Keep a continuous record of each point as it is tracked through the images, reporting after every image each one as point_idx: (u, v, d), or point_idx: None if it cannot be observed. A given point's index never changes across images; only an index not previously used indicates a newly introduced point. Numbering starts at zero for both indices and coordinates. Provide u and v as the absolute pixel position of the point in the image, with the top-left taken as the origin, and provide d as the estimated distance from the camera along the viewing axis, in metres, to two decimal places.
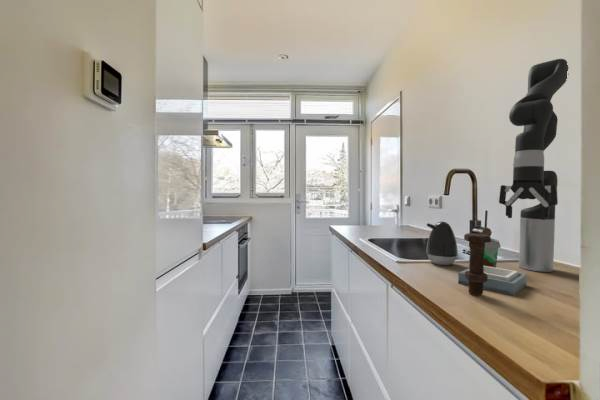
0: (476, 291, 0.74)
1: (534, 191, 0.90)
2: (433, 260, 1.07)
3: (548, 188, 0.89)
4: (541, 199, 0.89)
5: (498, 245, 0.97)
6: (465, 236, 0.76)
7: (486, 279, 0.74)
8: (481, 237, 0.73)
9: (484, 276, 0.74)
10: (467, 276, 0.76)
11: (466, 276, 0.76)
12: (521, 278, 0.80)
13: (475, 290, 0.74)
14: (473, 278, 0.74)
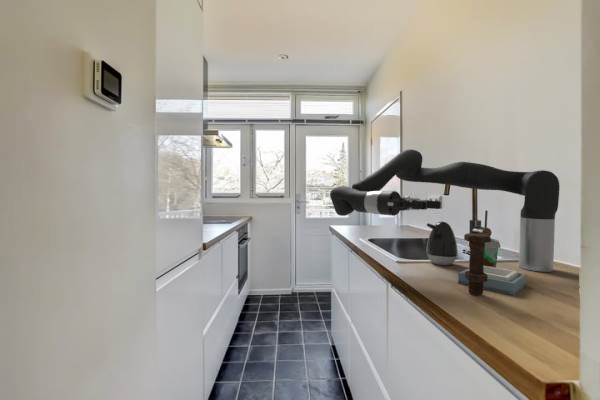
0: (476, 291, 0.74)
1: (408, 197, 0.91)
2: (433, 260, 1.07)
3: None
4: None
5: (498, 245, 0.97)
6: (465, 236, 0.76)
7: (486, 279, 0.74)
8: (481, 237, 0.73)
9: (484, 276, 0.74)
10: (467, 276, 0.76)
11: (466, 276, 0.76)
12: (521, 278, 0.80)
13: (475, 290, 0.74)
14: (473, 278, 0.74)
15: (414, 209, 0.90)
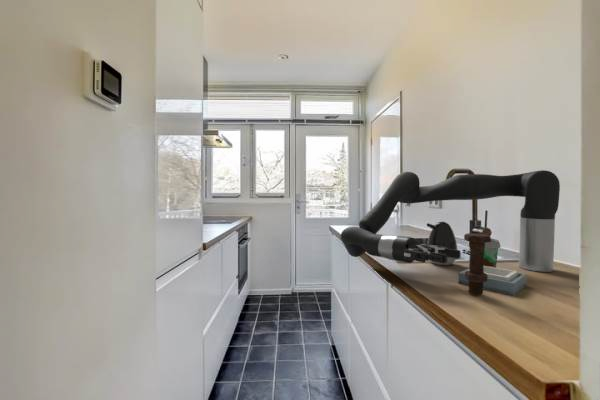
0: (476, 291, 0.74)
1: (425, 244, 0.87)
2: None
3: None
4: (436, 246, 0.86)
5: (498, 245, 0.97)
6: (465, 236, 0.76)
7: (486, 279, 0.74)
8: (481, 237, 0.73)
9: (484, 276, 0.74)
10: (467, 276, 0.76)
11: (466, 276, 0.76)
12: (521, 278, 0.80)
13: (475, 290, 0.74)
14: (473, 278, 0.74)
15: None
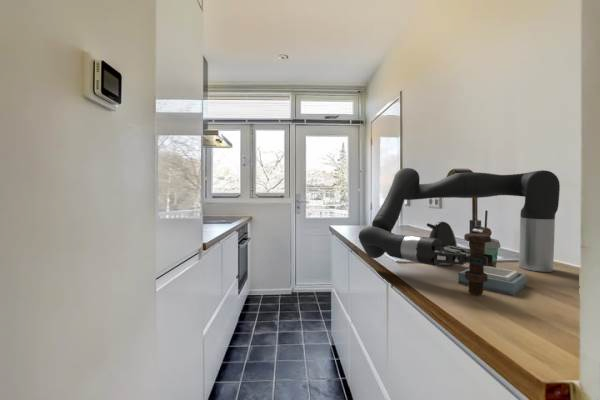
0: (476, 291, 0.74)
1: (453, 246, 0.81)
2: None
3: None
4: (465, 249, 0.79)
5: (498, 245, 0.97)
6: (465, 236, 0.76)
7: (486, 279, 0.74)
8: (481, 237, 0.73)
9: (484, 276, 0.74)
10: (467, 276, 0.76)
11: (466, 276, 0.76)
12: (521, 278, 0.80)
13: (475, 290, 0.74)
14: (473, 278, 0.74)
15: None
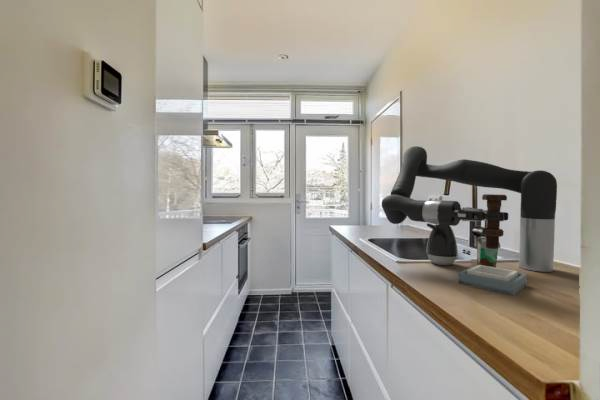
0: (493, 245, 0.83)
1: None
2: (433, 260, 1.07)
3: None
4: (482, 209, 0.88)
5: (498, 245, 0.97)
6: (483, 196, 0.85)
7: (502, 234, 0.82)
8: (498, 195, 0.81)
9: (500, 231, 0.82)
10: (485, 232, 0.84)
11: (484, 232, 0.85)
12: (521, 278, 0.80)
13: (492, 244, 0.83)
14: (490, 233, 0.83)
15: None
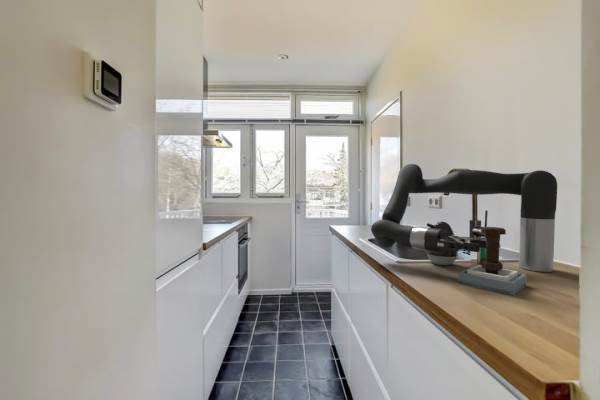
0: None
1: None
2: (433, 260, 1.07)
3: None
4: (466, 237, 0.92)
5: None
6: (482, 229, 0.85)
7: (501, 267, 0.83)
8: (497, 230, 0.81)
9: (499, 265, 0.82)
10: (484, 265, 0.84)
11: (483, 265, 0.85)
12: (521, 278, 0.80)
13: None
14: (490, 266, 0.83)
15: None
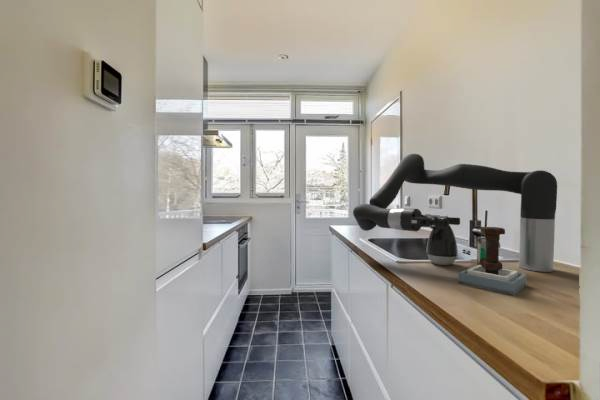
0: None
1: (429, 214, 0.99)
2: (433, 260, 1.07)
3: None
4: None
5: None
6: (481, 229, 0.85)
7: (501, 267, 0.83)
8: (496, 229, 0.82)
9: (499, 264, 0.83)
10: (484, 265, 0.84)
11: (483, 265, 0.85)
12: (521, 278, 0.80)
13: None
14: (489, 266, 0.83)
15: None
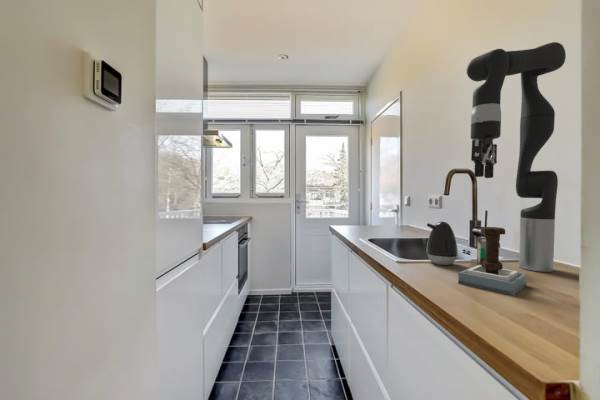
0: None
1: (494, 148, 0.89)
2: (433, 260, 1.07)
3: None
4: (494, 157, 0.90)
5: None
6: (482, 229, 0.85)
7: (501, 267, 0.83)
8: (497, 230, 0.82)
9: (499, 264, 0.82)
10: (484, 265, 0.84)
11: (483, 265, 0.85)
12: (521, 278, 0.80)
13: None
14: (489, 266, 0.83)
15: None
